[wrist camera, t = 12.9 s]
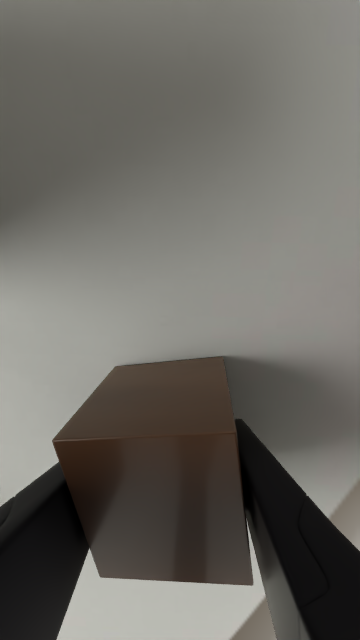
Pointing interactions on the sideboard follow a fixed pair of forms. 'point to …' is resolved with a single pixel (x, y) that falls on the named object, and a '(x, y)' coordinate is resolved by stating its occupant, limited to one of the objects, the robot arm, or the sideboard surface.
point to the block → (160, 474)
